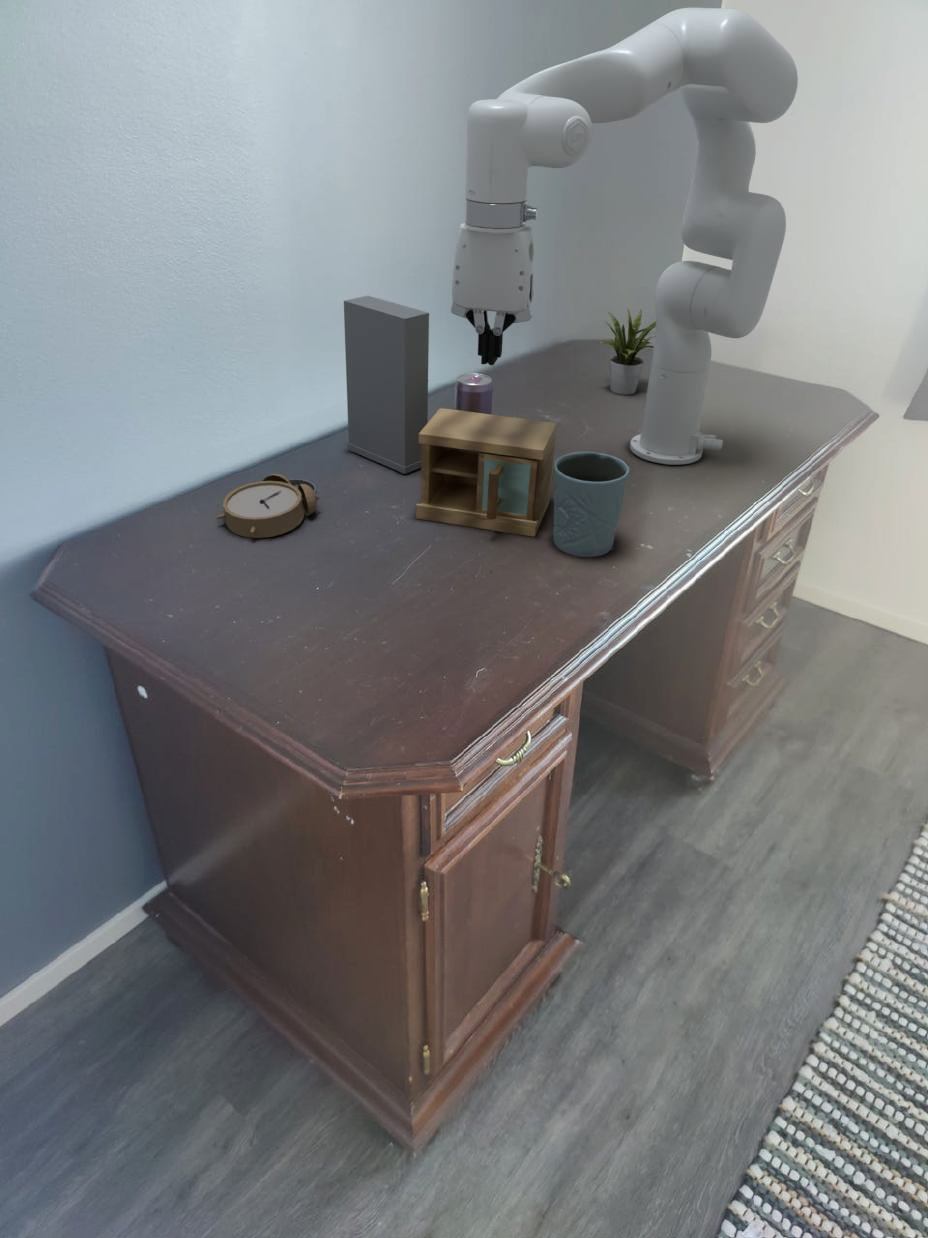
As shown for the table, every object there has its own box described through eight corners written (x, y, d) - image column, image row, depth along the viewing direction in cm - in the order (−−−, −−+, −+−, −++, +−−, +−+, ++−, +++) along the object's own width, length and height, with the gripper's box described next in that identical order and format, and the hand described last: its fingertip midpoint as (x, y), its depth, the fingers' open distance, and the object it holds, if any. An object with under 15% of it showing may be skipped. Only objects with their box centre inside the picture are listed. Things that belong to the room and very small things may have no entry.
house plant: (666, 405, 177) (680, 322, 168) (596, 403, 177) (606, 319, 168) (654, 382, 189) (666, 302, 180) (589, 379, 189) (598, 300, 180)
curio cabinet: (549, 502, 139) (557, 422, 132) (534, 536, 129) (542, 452, 122) (438, 486, 143) (439, 407, 135) (416, 518, 133) (416, 435, 126)
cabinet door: (532, 519, 130) (538, 459, 125) (525, 536, 126) (530, 474, 121) (477, 511, 132) (479, 451, 126) (467, 527, 127) (470, 465, 122)
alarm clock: (204, 504, 128) (279, 456, 136) (213, 532, 131) (286, 483, 139) (258, 528, 122) (333, 477, 131) (266, 557, 125) (338, 504, 134)
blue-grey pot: (619, 531, 132) (631, 455, 125) (615, 565, 123) (627, 485, 117) (551, 523, 133) (559, 447, 127) (542, 555, 125) (550, 476, 118)
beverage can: (493, 464, 151) (498, 376, 142) (479, 477, 146) (483, 387, 138) (461, 457, 153) (464, 370, 144) (446, 469, 148) (449, 380, 140)
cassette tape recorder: (430, 465, 149) (433, 311, 136) (404, 475, 145) (405, 319, 132) (374, 441, 157) (371, 294, 143) (347, 451, 153) (342, 300, 139)
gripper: (560, 214, 112) (548, 359, 122) (445, 205, 115) (443, 348, 125) (549, 224, 106) (538, 376, 116) (428, 215, 109) (428, 364, 119)
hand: (489, 361), depth 121 cm, fingers closed
